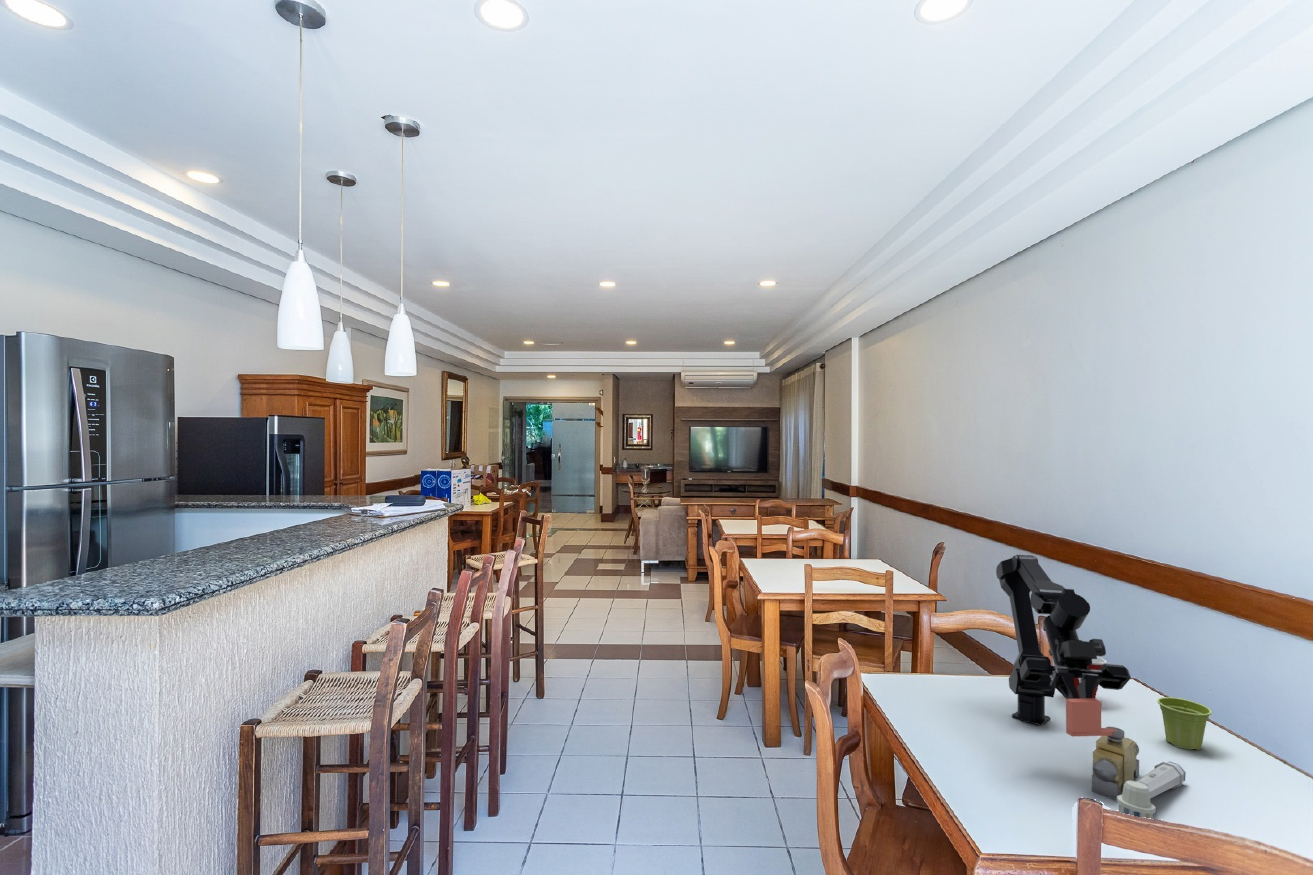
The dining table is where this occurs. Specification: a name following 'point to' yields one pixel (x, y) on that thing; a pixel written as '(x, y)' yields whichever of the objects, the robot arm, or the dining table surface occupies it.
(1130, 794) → the white flashlight
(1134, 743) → the valve
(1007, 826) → the dining table surface
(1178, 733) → the plant pot
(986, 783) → the dining table surface
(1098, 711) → the lever
